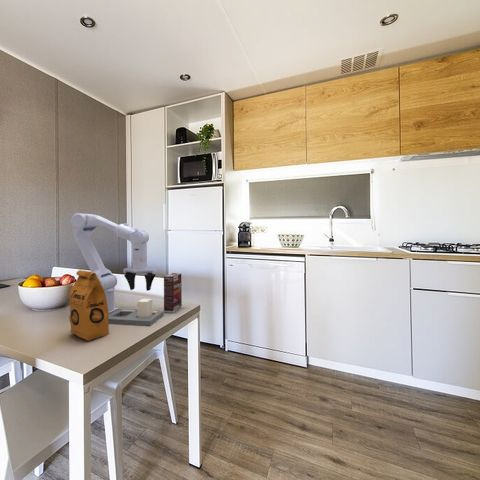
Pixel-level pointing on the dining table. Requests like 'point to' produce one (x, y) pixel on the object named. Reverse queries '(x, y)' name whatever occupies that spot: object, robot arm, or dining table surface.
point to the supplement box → (172, 292)
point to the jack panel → (133, 317)
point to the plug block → (145, 308)
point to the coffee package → (88, 307)
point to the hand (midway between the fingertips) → (140, 289)
